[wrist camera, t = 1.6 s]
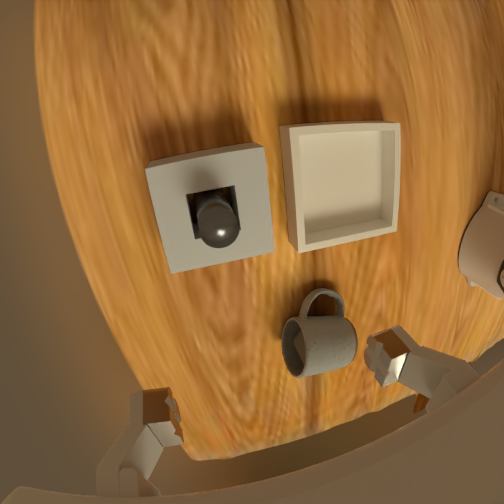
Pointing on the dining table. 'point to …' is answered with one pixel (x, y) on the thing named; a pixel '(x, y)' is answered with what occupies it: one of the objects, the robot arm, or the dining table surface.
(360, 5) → the dining table surface
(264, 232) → the grey square socket block
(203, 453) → the dining table surface
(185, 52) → the dining table surface
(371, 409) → the dining table surface
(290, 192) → the tray
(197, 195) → the pin
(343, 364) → the ceramic mug
